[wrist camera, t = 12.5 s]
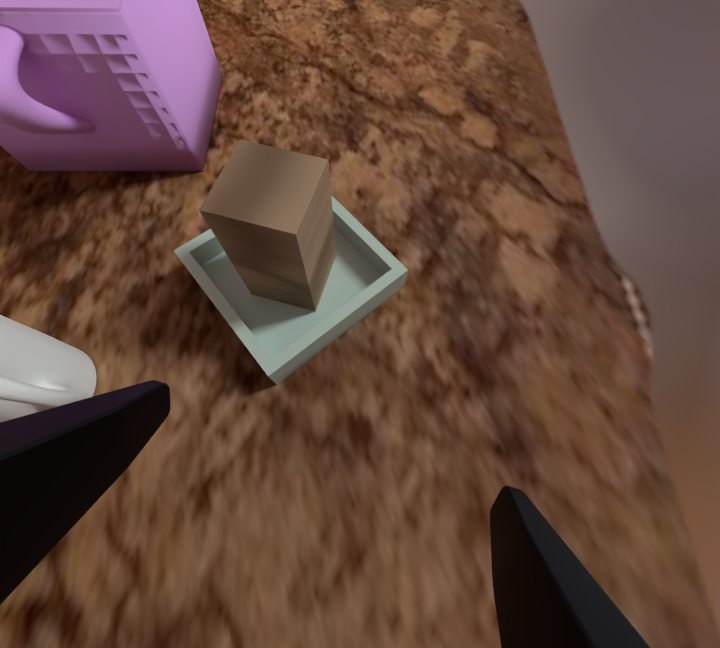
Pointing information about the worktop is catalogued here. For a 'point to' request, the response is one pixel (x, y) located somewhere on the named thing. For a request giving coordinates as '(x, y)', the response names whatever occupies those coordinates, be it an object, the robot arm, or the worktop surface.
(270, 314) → the tray
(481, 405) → the worktop surface
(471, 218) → the worktop surface
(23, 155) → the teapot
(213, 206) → the walnut block
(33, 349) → the mug
